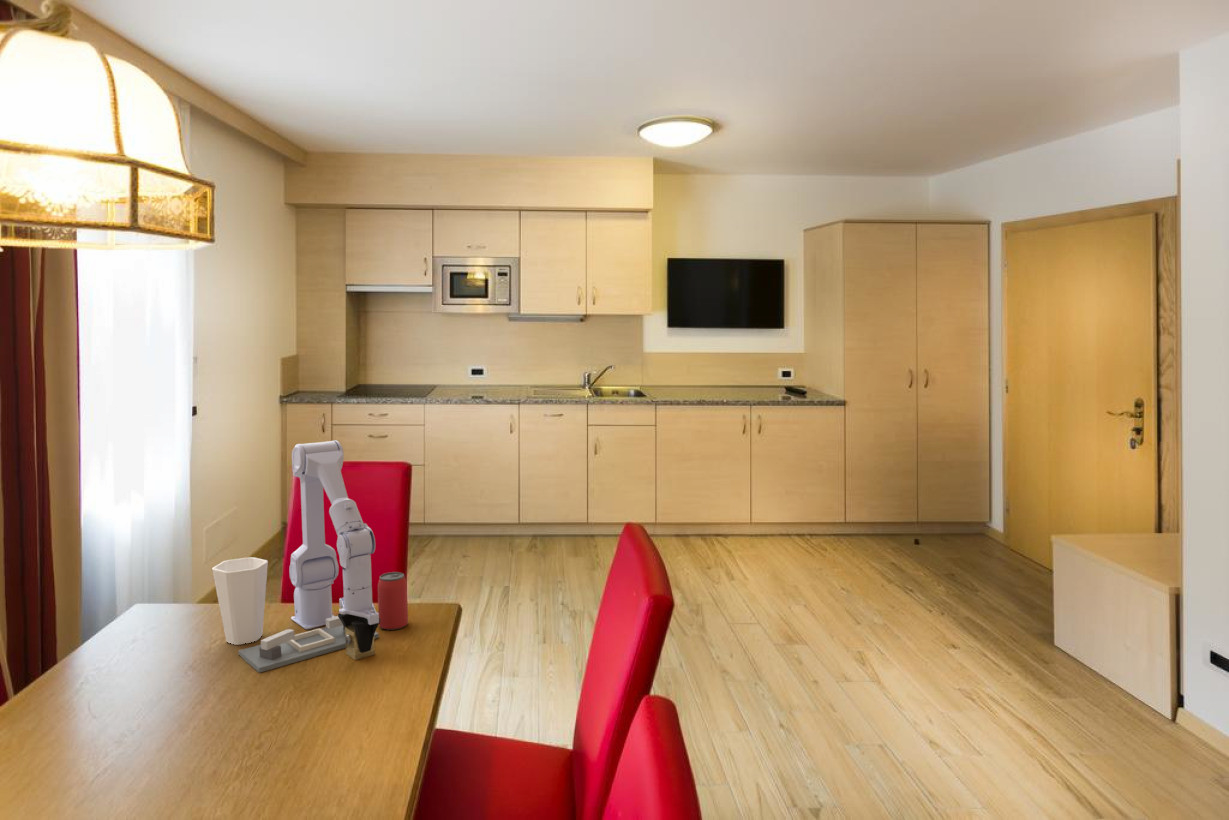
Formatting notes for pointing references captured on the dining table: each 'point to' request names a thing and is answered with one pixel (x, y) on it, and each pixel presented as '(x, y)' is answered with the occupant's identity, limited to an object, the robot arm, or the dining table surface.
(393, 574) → the beer can
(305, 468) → the robot arm
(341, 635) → the shaft board
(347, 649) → the block
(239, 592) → the cup
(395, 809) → the dining table surface
